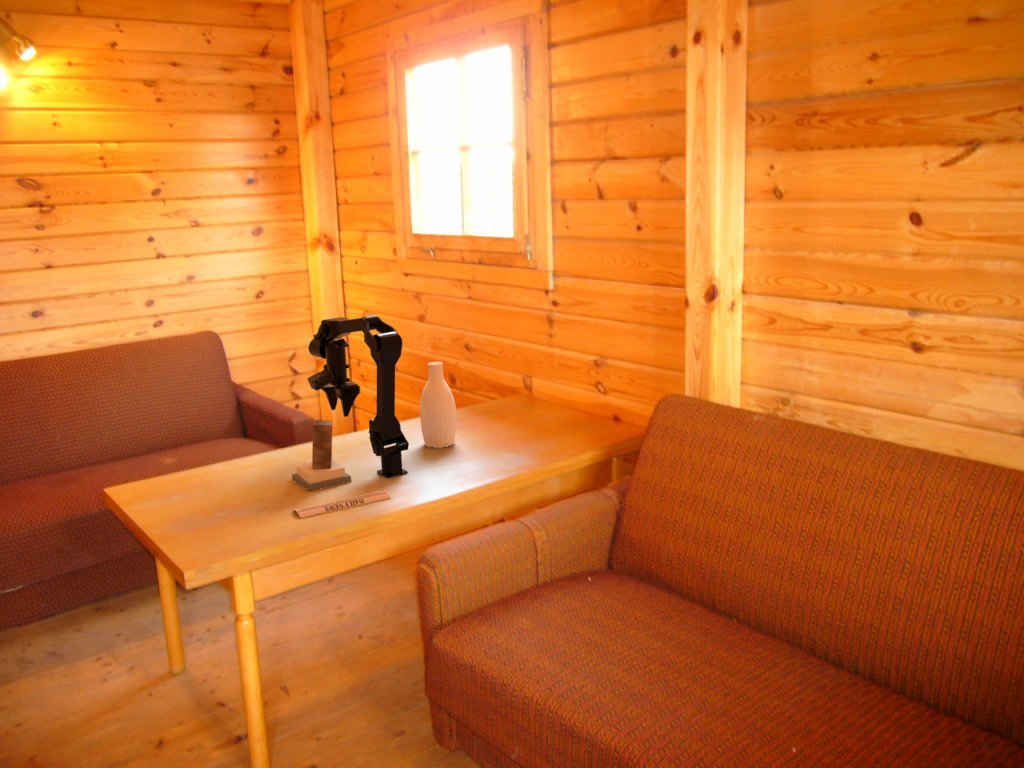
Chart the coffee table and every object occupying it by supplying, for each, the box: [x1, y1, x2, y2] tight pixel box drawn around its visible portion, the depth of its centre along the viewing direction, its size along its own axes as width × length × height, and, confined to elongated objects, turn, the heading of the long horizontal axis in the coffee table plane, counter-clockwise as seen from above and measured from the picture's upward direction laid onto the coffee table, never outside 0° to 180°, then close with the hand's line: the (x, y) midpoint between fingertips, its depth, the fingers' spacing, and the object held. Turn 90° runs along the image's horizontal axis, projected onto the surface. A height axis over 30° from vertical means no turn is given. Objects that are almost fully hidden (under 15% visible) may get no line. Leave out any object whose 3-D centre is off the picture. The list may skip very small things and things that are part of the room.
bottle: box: [419, 361, 457, 449], centre depth 269 cm, size 11×11×25 cm
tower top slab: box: [296, 458, 346, 484], centre depth 242 cm, size 10×10×2 cm
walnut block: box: [311, 419, 333, 468], centre depth 240 cm, size 5×5×12 cm
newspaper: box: [292, 490, 391, 519], centre depth 223 cm, size 24×7×2 cm, turn 121°
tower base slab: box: [291, 472, 352, 492], centre depth 242 cm, size 12×12×2 cm
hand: (339, 413), depth 261 cm, fingers open, 9 cm apart
